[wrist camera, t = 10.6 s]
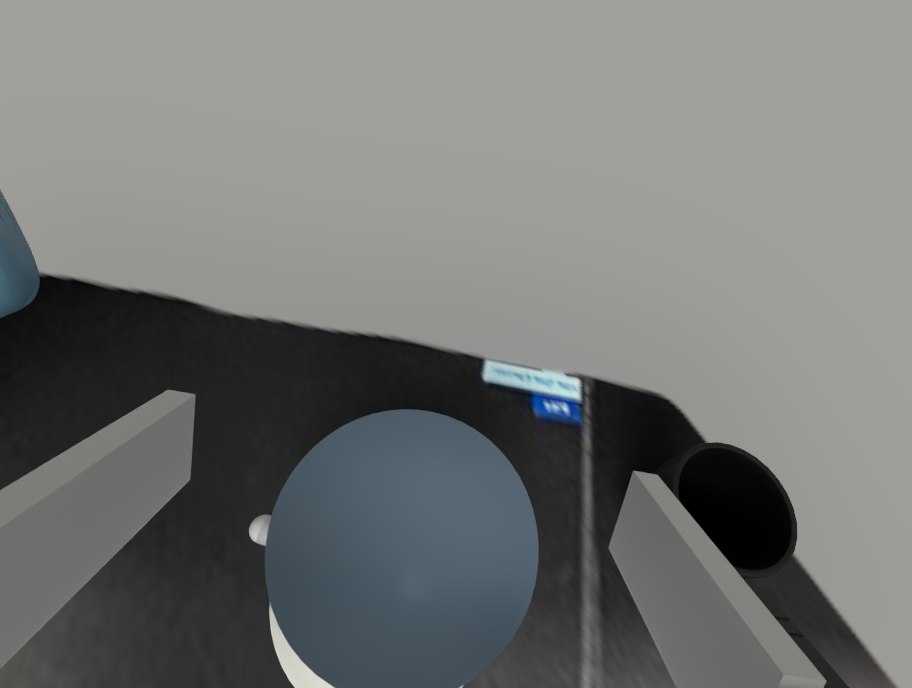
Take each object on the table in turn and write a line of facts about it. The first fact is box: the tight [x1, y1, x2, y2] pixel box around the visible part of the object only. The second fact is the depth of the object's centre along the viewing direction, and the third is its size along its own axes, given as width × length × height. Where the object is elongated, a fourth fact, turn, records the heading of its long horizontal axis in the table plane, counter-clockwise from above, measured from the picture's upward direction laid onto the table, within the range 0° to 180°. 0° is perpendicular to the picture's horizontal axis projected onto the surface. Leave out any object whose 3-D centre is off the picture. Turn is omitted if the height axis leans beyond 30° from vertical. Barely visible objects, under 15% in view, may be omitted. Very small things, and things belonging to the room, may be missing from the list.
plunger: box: [265, 409, 538, 688], centre depth 14 cm, size 5×5×13 cm
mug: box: [652, 443, 797, 579], centre depth 33 cm, size 8×12×10 cm
